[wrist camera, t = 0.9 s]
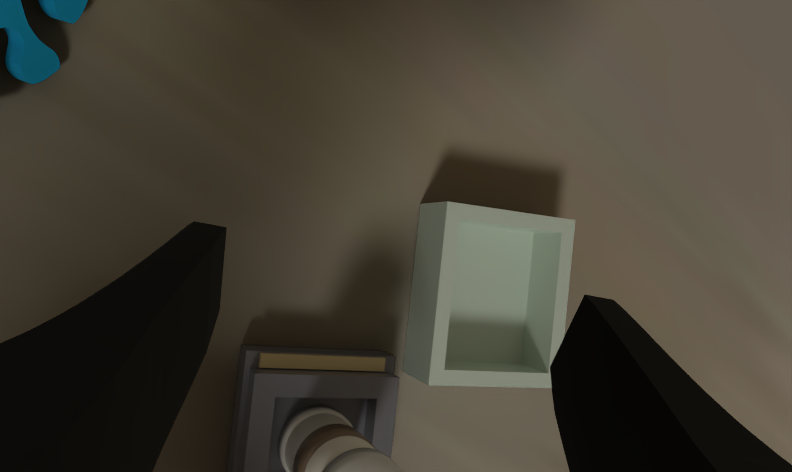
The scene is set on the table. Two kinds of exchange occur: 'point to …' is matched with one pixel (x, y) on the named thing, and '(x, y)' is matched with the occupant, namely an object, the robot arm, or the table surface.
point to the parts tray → (487, 296)
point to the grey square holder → (308, 397)
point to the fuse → (328, 444)
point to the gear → (33, 38)
